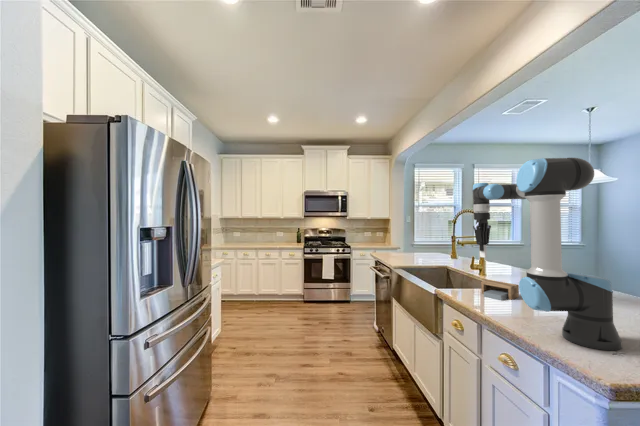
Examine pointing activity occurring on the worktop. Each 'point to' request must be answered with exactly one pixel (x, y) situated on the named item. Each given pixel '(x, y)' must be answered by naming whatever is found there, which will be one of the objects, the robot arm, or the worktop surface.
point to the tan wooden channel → (501, 288)
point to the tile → (496, 294)
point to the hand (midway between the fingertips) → (483, 257)
